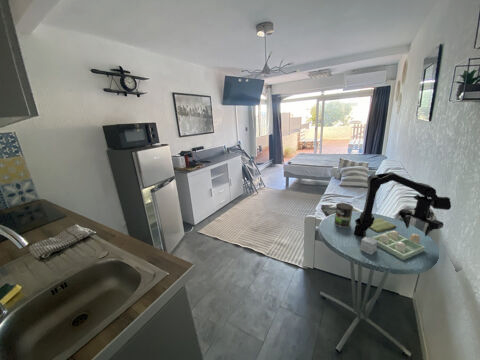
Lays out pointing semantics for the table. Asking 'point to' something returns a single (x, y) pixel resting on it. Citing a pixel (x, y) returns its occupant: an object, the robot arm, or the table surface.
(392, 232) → the egg
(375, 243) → the skincare box
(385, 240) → the egg
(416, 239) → the brown egg
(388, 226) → the washcloth
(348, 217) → the coffee can
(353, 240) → the table surface
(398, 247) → the egg
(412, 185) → the robot arm
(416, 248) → the egg tray
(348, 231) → the table surface
